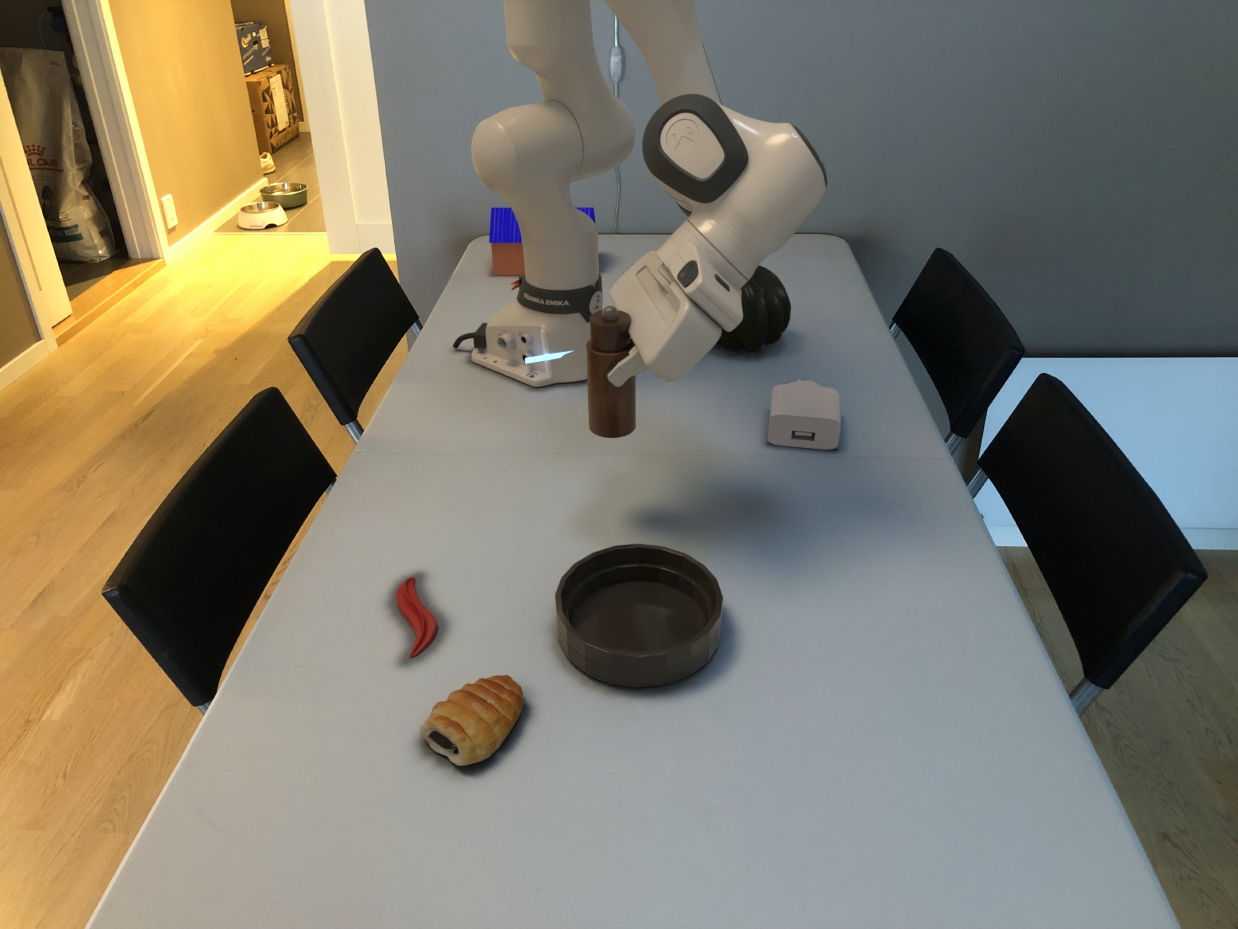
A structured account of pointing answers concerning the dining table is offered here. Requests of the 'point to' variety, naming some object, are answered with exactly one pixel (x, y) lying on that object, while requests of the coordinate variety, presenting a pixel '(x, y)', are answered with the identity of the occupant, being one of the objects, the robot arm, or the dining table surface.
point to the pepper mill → (606, 401)
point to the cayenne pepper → (416, 616)
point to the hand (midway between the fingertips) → (605, 367)
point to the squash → (759, 313)
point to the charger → (804, 415)
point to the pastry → (474, 719)
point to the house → (511, 241)
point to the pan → (638, 615)
